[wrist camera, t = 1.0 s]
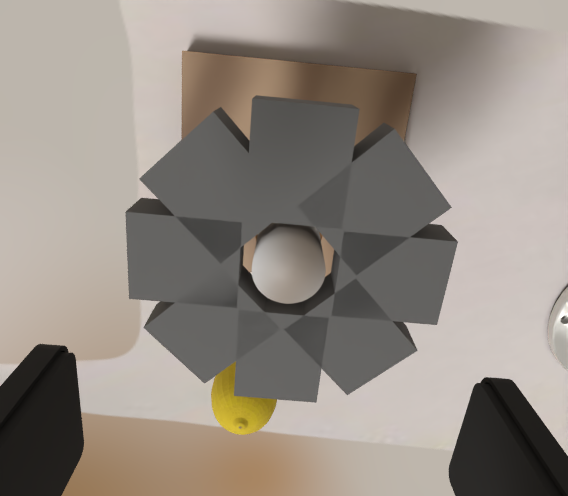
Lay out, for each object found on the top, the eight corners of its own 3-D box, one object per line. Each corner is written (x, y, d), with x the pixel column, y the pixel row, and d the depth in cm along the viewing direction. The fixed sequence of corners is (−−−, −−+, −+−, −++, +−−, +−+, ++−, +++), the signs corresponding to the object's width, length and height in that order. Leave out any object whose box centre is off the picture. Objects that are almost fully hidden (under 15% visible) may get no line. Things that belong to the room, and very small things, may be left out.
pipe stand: (411, 73, 32) (542, 80, 15) (374, 275, 38) (440, 437, 21) (186, 51, 32) (73, 34, 15) (184, 258, 38) (101, 410, 21)
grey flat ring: (467, 115, 18) (488, 121, 16) (405, 382, 23) (415, 410, 21) (138, 83, 18) (120, 85, 16) (146, 361, 22) (132, 387, 21)
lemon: (213, 380, 42) (197, 446, 35) (226, 331, 40) (211, 391, 33) (270, 393, 43) (266, 461, 35) (285, 345, 41) (284, 407, 33)
